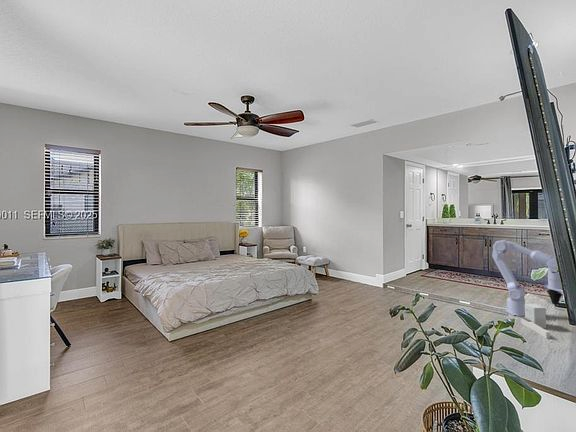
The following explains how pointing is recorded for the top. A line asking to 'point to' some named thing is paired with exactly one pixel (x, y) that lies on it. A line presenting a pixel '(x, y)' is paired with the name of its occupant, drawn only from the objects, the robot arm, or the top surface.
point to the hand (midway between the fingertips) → (555, 304)
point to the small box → (536, 314)
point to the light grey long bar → (535, 327)
